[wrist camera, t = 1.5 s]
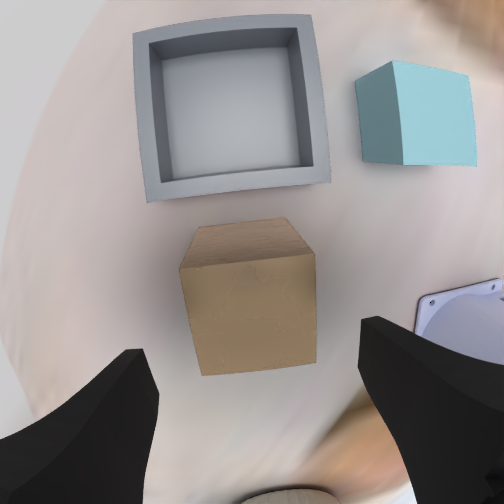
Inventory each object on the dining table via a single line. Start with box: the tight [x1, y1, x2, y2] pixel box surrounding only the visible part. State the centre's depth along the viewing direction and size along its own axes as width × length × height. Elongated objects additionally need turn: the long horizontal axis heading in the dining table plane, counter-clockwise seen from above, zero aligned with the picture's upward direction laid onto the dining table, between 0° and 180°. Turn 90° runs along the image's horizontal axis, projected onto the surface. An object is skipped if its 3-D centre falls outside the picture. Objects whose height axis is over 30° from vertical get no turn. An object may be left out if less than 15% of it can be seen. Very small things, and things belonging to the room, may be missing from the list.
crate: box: [133, 14, 331, 203], centre depth 14 cm, size 9×9×4 cm
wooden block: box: [179, 218, 316, 376], centre depth 15 cm, size 5×5×7 cm
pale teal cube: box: [355, 61, 477, 166], centre depth 14 cm, size 5×5×5 cm
